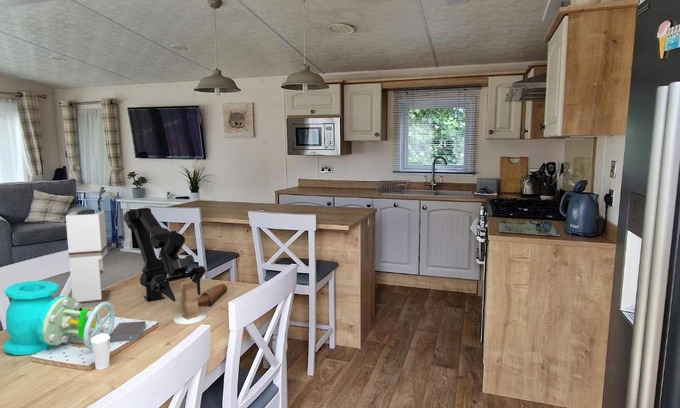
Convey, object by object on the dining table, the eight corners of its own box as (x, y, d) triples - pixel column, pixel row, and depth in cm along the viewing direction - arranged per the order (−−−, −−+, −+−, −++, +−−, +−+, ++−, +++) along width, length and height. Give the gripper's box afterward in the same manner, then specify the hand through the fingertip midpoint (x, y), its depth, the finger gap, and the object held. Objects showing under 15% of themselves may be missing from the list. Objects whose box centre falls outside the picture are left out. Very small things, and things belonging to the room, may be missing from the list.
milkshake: (94, 363, 114) (92, 328, 113) (115, 362, 114) (112, 328, 113) (86, 371, 110) (83, 336, 108) (107, 370, 110) (104, 335, 109)
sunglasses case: (207, 290, 174) (214, 277, 173) (221, 298, 174) (229, 285, 173) (189, 306, 156) (197, 291, 155) (205, 315, 156) (213, 301, 155)
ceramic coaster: (169, 317, 146) (169, 315, 146) (200, 309, 153) (200, 308, 153) (178, 327, 137) (178, 325, 137) (211, 319, 144) (211, 317, 144)
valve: (30, 277, 129) (124, 290, 128) (28, 331, 131) (121, 344, 130) (-10, 293, 115) (96, 307, 114) (-11, 352, 117) (92, 367, 116)
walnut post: (182, 316, 145) (180, 283, 143) (192, 313, 148) (191, 281, 146) (187, 319, 142) (186, 286, 141) (198, 316, 145) (196, 283, 144)
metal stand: (119, 328, 136) (119, 323, 136) (145, 326, 138) (145, 321, 138) (109, 342, 127) (108, 336, 126) (137, 340, 128) (136, 333, 128)
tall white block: (105, 304, 159) (98, 214, 154) (73, 307, 155) (65, 215, 151) (110, 294, 169) (104, 210, 165) (80, 297, 166) (73, 211, 162)
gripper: (151, 253, 140) (168, 292, 134) (202, 244, 153) (219, 279, 147) (143, 271, 146) (158, 309, 140) (192, 261, 160) (208, 295, 154)
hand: (187, 297), depth 145 cm, fingers open, 9 cm apart
